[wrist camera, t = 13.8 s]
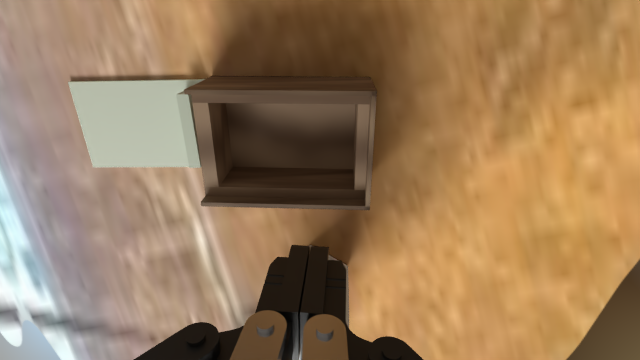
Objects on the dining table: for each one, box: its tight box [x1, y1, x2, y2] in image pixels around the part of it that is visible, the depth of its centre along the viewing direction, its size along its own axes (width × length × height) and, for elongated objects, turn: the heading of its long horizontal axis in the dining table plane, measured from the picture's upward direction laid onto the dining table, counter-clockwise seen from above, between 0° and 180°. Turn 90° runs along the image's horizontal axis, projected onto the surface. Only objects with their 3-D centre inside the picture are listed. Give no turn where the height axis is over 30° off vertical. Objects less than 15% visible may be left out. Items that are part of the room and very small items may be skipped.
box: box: [184, 76, 377, 210], centre depth 36 cm, size 11×16×7 cm
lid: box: [68, 79, 205, 168], centre depth 39 cm, size 10×15×4 cm, turn 91°
